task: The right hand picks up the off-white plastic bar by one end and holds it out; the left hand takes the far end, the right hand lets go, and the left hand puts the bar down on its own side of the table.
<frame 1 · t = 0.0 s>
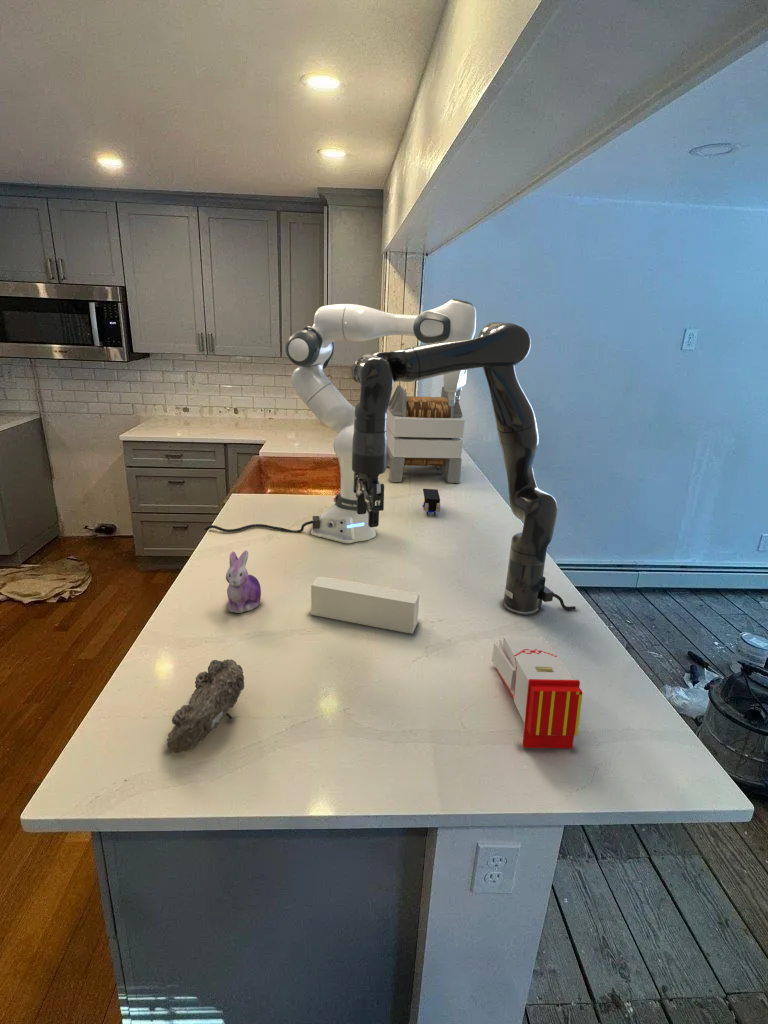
left hand: (454, 403, 174), 48 cm above the counter, tool pointing down, fingers open, 8 cm apart
right hand: (367, 519, 129), 29 cm above the counter, tool pointing down, fingers open, 8 cm apart
bar: (364, 618, 145), on the counter
figurine character: (430, 511, 223), on the counter
transformer: (419, 473, 275), on the counter
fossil: (212, 717, 108), on the counter
figurine: (244, 605, 148), on the counter
toy: (527, 700, 117), on the counter
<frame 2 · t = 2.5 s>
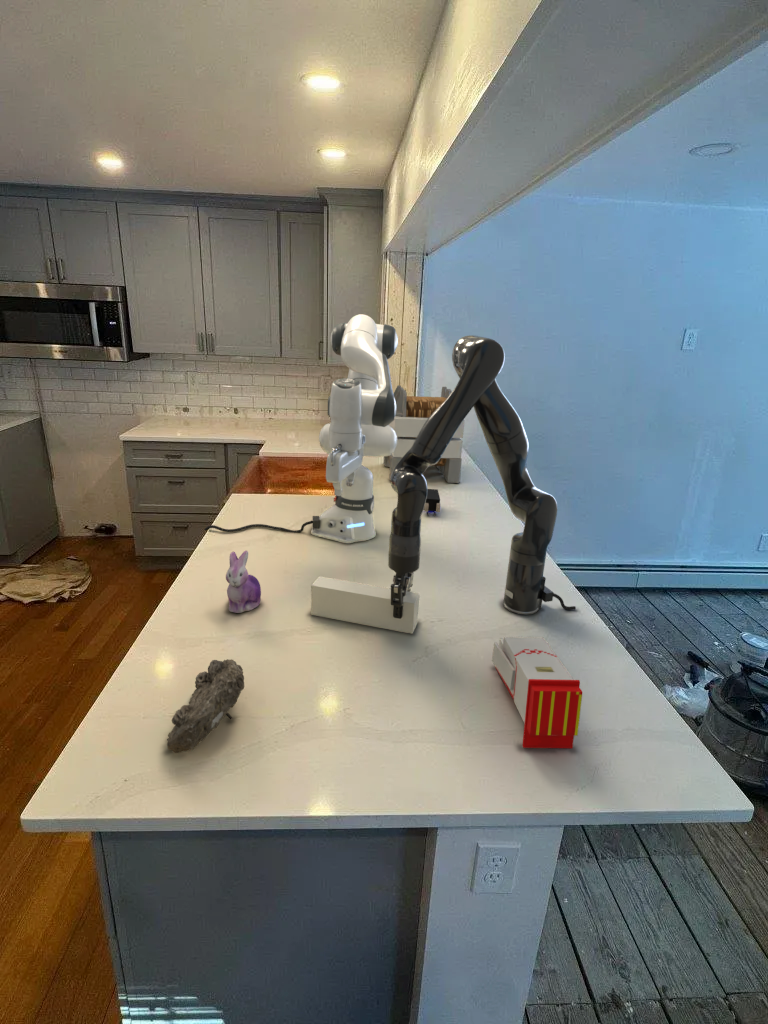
left hand: (344, 490, 157), 27 cm above the counter, tool pointing down, fingers open, 8 cm apart
right hand: (400, 611, 141), 4 cm above the counter, tool pointing down, fingers closed on bar, 5 cm apart
bar: (364, 618, 145), on the counter, touching right hand
everything else where it was.
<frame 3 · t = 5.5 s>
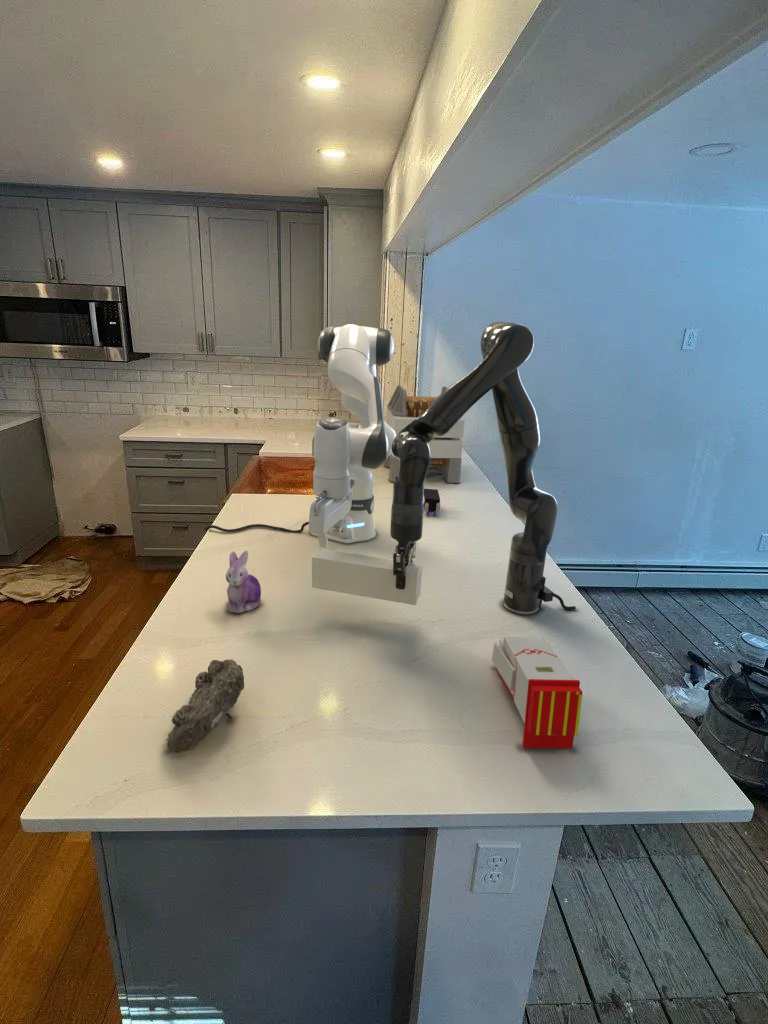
left hand: (330, 539, 141), 20 cm above the counter, tool pointing down, fingers open, 8 cm apart
right hand: (403, 582, 138), 12 cm above the counter, tool pointing down, fingers closed on bar, 5 cm apart
bar: (365, 591, 142), point 8 cm above the counter, touching right hand
everything else where it was.
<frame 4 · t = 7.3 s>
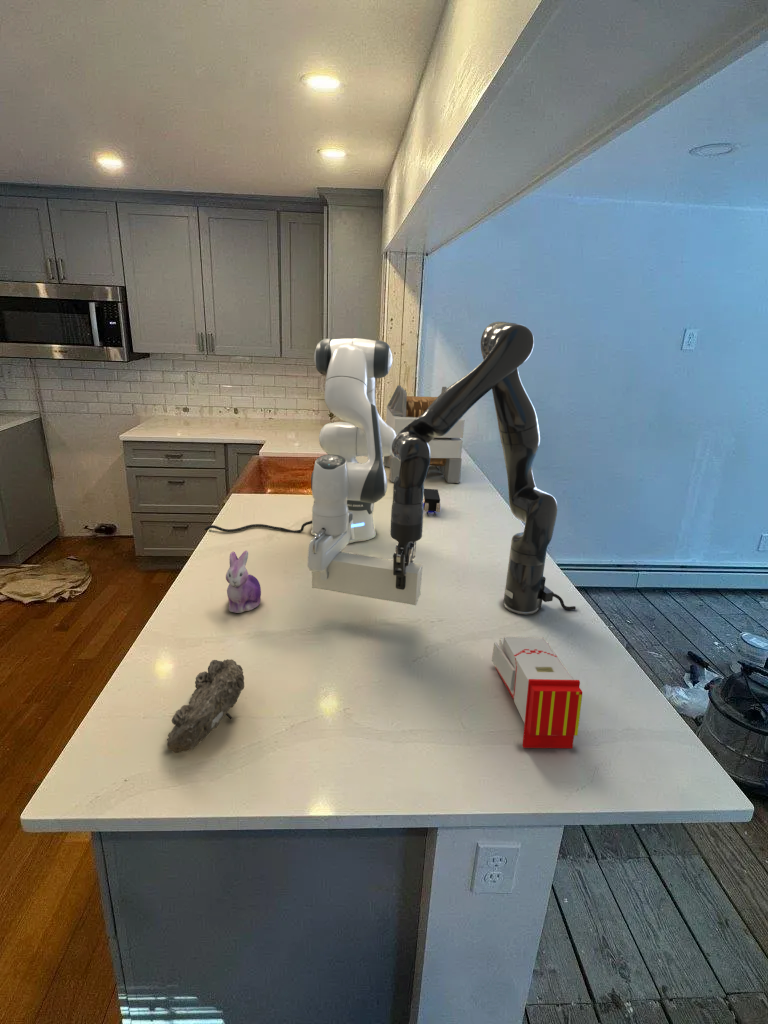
left hand: (329, 573, 143), 11 cm above the counter, tool pointing down, fingers closed on bar, 5 cm apart
right hand: (403, 582, 138), 12 cm above the counter, tool pointing down, fingers closed on bar, 5 cm apart
bar: (365, 591, 142), point 8 cm above the counter, touching left hand, right hand
everything else where it was.
when the right hand's fingers open (12 cm above the counter, at t = 8.4 s): bar stays where it is, held by the left hand.
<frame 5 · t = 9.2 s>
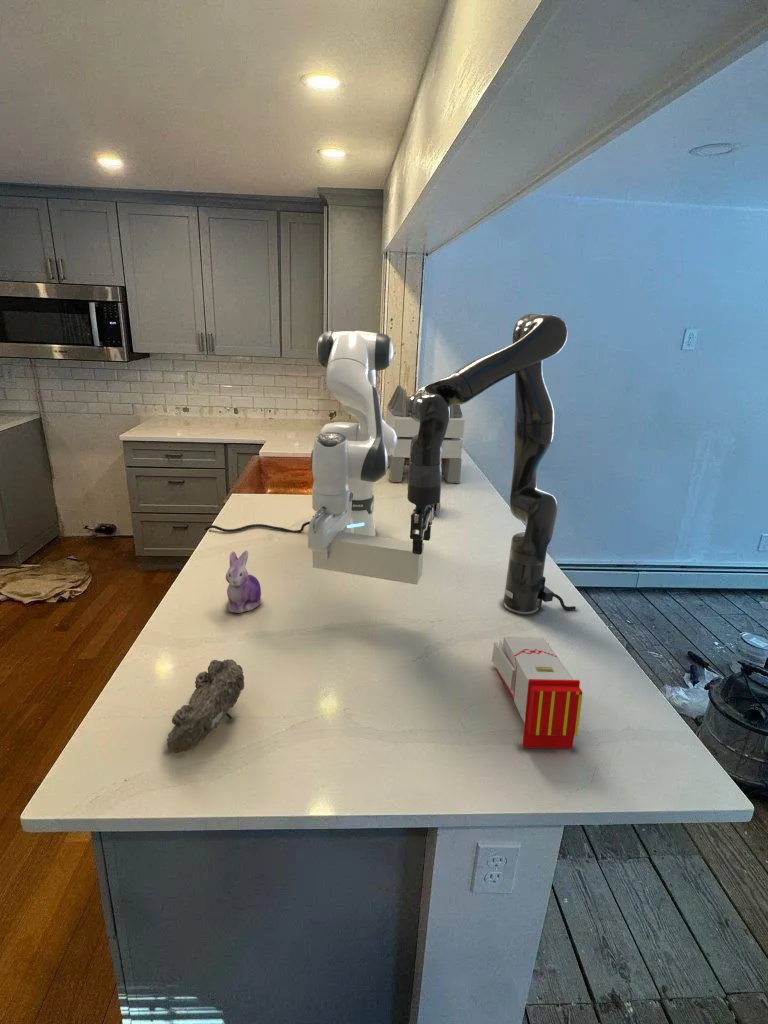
left hand: (330, 552, 142), 17 cm above the counter, tool pointing down, fingers closed on bar, 5 cm apart
right hand: (421, 546, 134), 22 cm above the counter, tool pointing down, fingers open, 8 cm apart
bar: (367, 571, 140), point 13 cm above the counter, touching left hand
everything else where it was.
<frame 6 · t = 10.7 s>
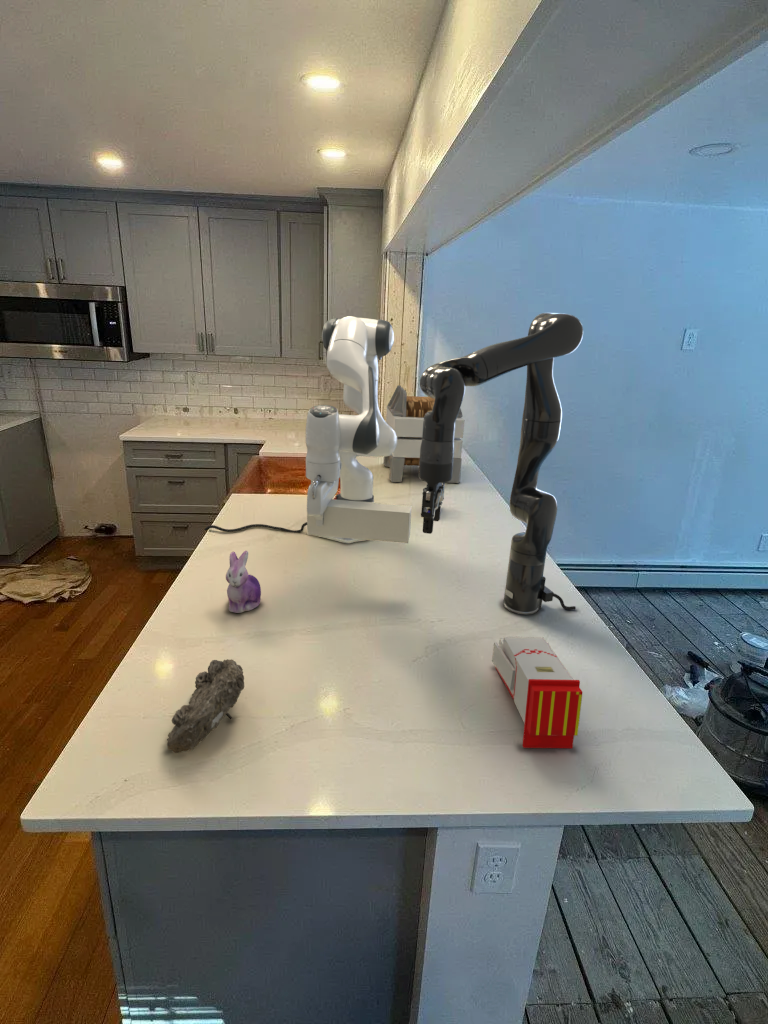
left hand: (323, 520, 150), 21 cm above the counter, tool pointing down, fingers closed on bar, 5 cm apart
right hand: (431, 526, 131), 28 cm above the counter, tool pointing down, fingers open, 8 cm apart
bar: (359, 534, 150), point 18 cm above the counter, touching left hand
everything else where it was.
when the left hand's fingers open (5 cm above the counter, at t = 14.6 s): bar stays where it is, on the counter.
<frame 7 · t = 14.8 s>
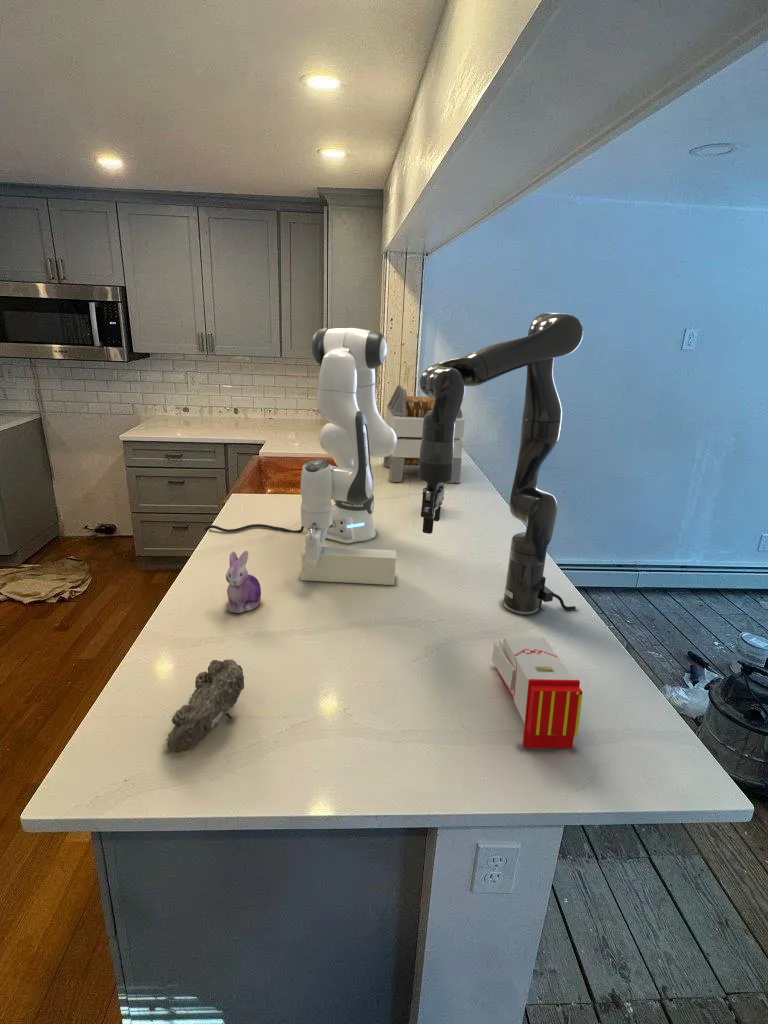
left hand: (316, 562, 164), 5 cm above the counter, tool pointing down, fingers open, 8 cm apart
right hand: (431, 526, 131), 28 cm above the counter, tool pointing down, fingers open, 8 cm apart
bar: (348, 578, 166), on the counter
everything else where it was.
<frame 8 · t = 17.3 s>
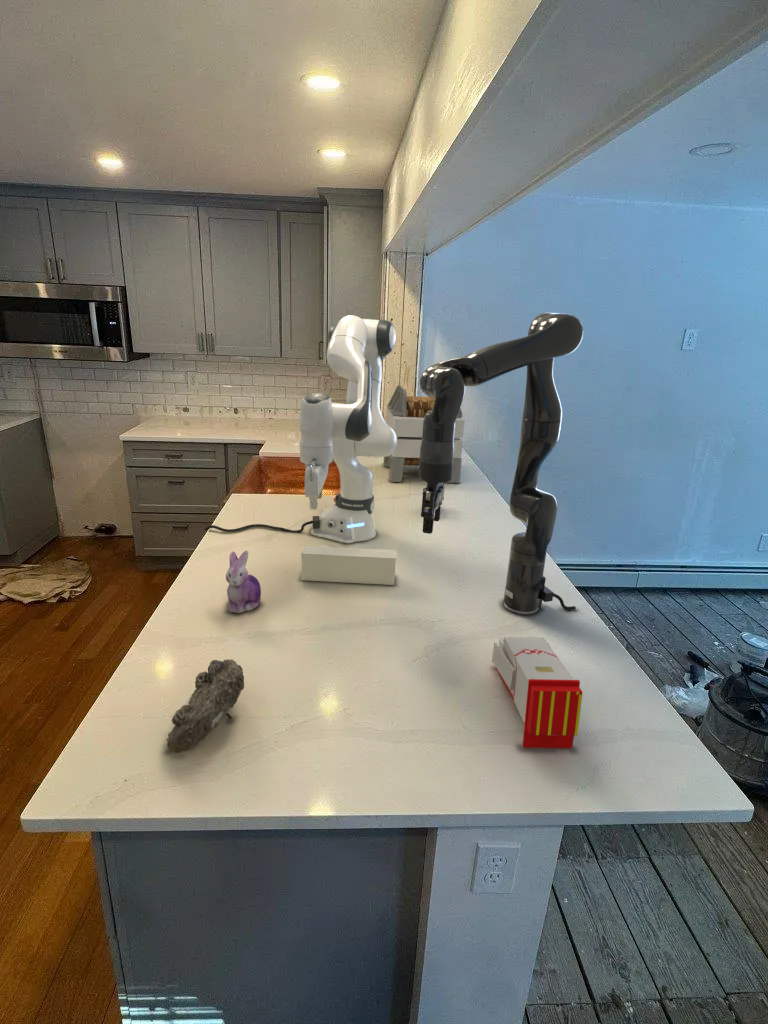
left hand: (316, 503, 158), 23 cm above the counter, tool pointing down, fingers open, 8 cm apart
right hand: (431, 526, 131), 28 cm above the counter, tool pointing down, fingers open, 8 cm apart
nothing on the counter moved.
at the end: bar inside the target area (9.5 cm from its centre), on the counter; the left hand is holding nothing; the right hand is holding nothing; bar at rest at the end (0.0 cm/s) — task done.
